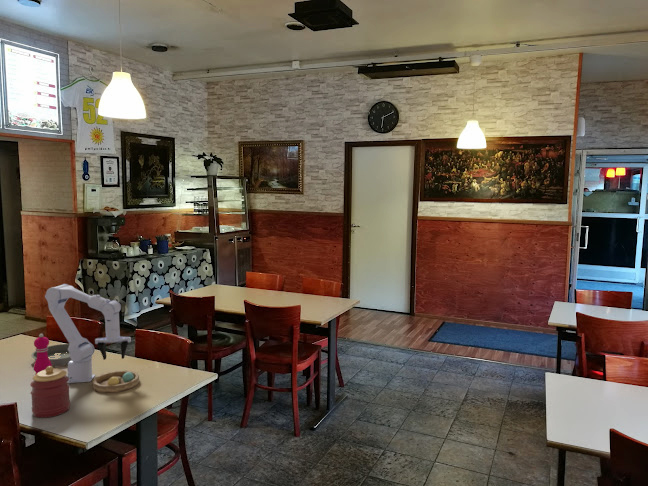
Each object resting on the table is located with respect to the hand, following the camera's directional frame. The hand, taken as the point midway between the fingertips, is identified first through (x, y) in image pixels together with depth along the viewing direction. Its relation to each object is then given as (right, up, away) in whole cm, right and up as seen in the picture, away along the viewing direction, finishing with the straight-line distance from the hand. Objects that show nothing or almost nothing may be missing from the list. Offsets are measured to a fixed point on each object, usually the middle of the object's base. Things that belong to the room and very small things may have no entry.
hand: (114, 358), depth 219 cm
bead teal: (+7, -10, -2) cm, 12 cm away
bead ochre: (+3, -11, -7) cm, 13 cm away
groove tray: (+2, -11, -2) cm, 11 cm away
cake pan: (-40, -8, +29) cm, 50 cm away
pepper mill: (-35, -10, +6) cm, 36 cm away
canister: (-12, -14, -29) cm, 34 cm away
